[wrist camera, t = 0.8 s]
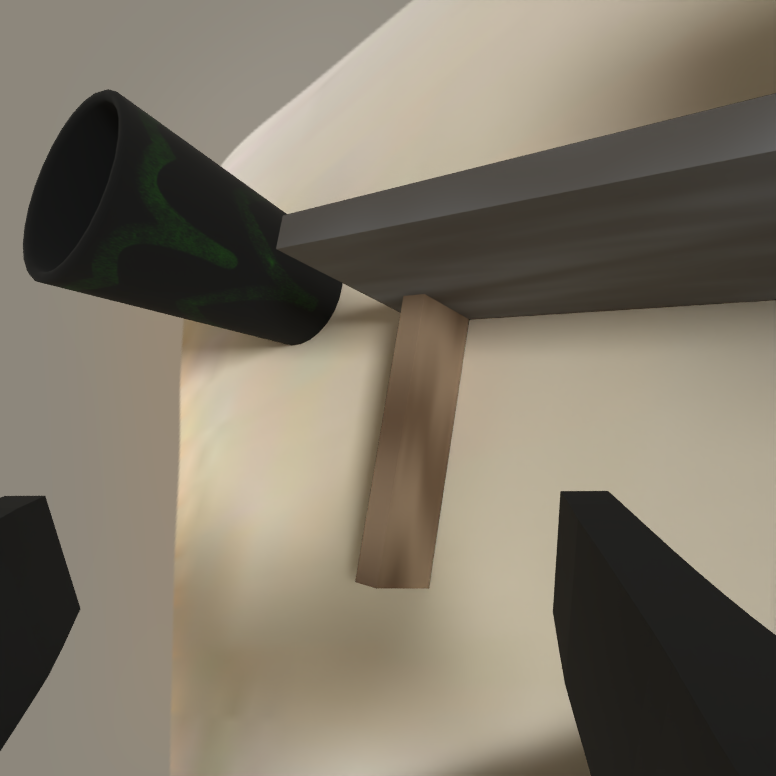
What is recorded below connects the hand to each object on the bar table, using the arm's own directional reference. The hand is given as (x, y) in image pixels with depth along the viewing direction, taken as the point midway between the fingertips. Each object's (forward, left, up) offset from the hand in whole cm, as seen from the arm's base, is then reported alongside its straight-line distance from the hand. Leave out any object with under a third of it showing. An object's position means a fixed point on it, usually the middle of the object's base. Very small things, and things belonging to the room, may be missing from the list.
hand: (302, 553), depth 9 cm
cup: (+10, +18, -14) cm, 25 cm away
